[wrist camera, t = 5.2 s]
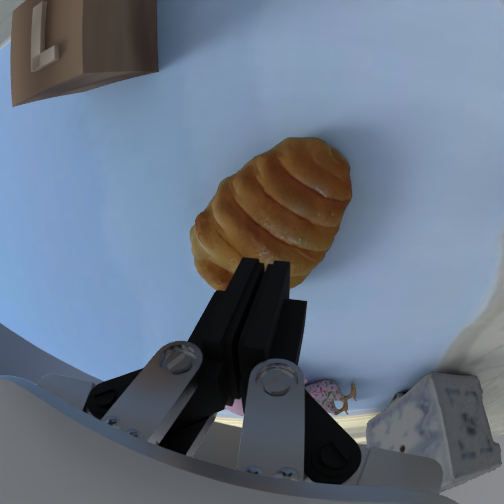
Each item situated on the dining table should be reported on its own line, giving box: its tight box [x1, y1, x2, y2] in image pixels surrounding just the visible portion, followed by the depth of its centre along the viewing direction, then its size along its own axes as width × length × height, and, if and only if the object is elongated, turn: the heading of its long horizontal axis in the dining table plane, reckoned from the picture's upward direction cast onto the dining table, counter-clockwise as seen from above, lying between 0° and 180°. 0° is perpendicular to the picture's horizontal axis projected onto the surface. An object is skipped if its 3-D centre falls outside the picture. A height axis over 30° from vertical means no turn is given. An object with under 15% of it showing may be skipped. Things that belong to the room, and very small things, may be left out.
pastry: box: [190, 138, 352, 291], centre depth 15 cm, size 9×7×4 cm
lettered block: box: [11, 0, 159, 107], centre depth 10 cm, size 6×6×6 cm
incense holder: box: [366, 372, 502, 493], centre depth 17 cm, size 10×8×10 cm
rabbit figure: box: [225, 378, 357, 416], centre depth 21 cm, size 6×6×15 cm
